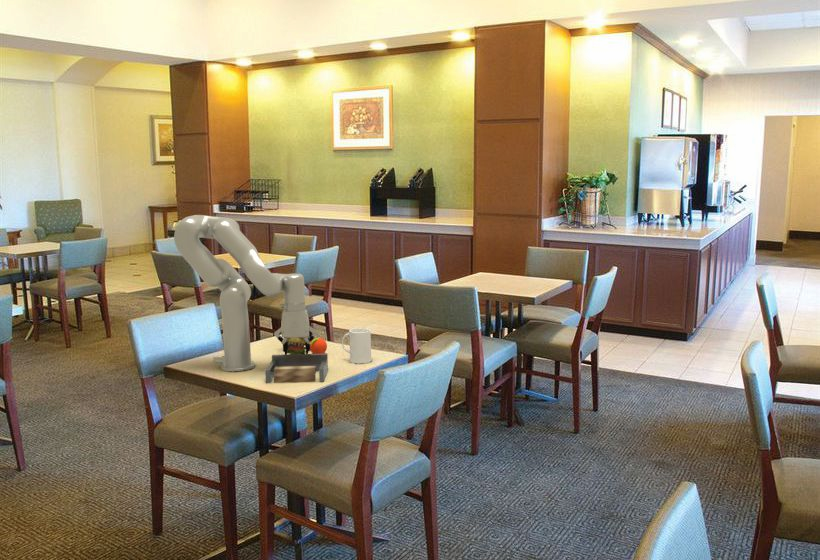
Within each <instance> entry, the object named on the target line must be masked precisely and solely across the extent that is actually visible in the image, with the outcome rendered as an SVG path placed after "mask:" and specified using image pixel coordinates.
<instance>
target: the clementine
mask: <svg viewBox="0 0 820 560" xmlns="http://www.w3.org/2000/svg"><path fill="white" fill-rule="evenodd" d="M327 350H328V344H327V342H326V340H325V339H323V338H321V337H315V338H314V339H313V340H312V341H311V342H310V351H309V352H311V354H326V351H327Z"/></svg>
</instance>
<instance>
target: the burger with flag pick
mask: <svg viewBox="0 0 820 560" xmlns="http://www.w3.org/2000/svg"><path fill="white" fill-rule="evenodd" d="M286 342H287V343H288V345H290V344H294V345H292V346H289V348H288V349H287V350H288V353H287V354H306V349H305V344H306V341H305V339H304V338H287V340H286Z"/></svg>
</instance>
